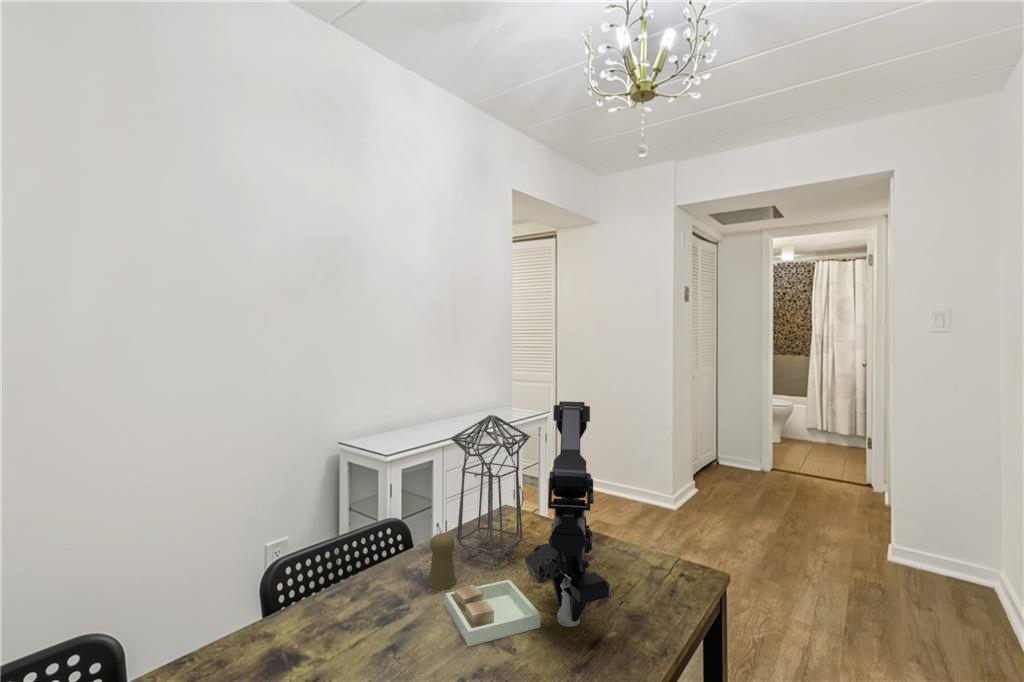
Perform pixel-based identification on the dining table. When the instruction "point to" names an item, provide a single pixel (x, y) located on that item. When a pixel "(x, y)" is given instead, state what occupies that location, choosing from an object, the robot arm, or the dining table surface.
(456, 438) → the geometric lantern
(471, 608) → the beech block
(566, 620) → the rook chess piece
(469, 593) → the beech block
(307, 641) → the dining table surface
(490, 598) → the tray
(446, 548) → the cork
